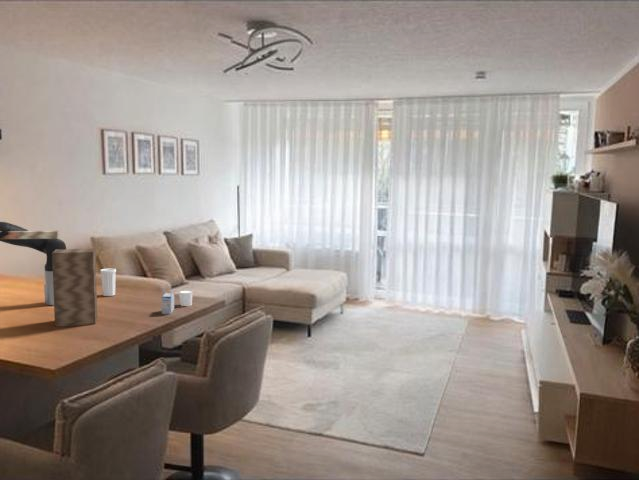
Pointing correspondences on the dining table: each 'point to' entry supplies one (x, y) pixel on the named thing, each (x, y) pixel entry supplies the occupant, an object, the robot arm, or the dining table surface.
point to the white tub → (185, 298)
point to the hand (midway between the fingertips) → (8, 231)
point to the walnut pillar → (74, 287)
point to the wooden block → (31, 235)
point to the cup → (108, 281)
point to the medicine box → (167, 303)
